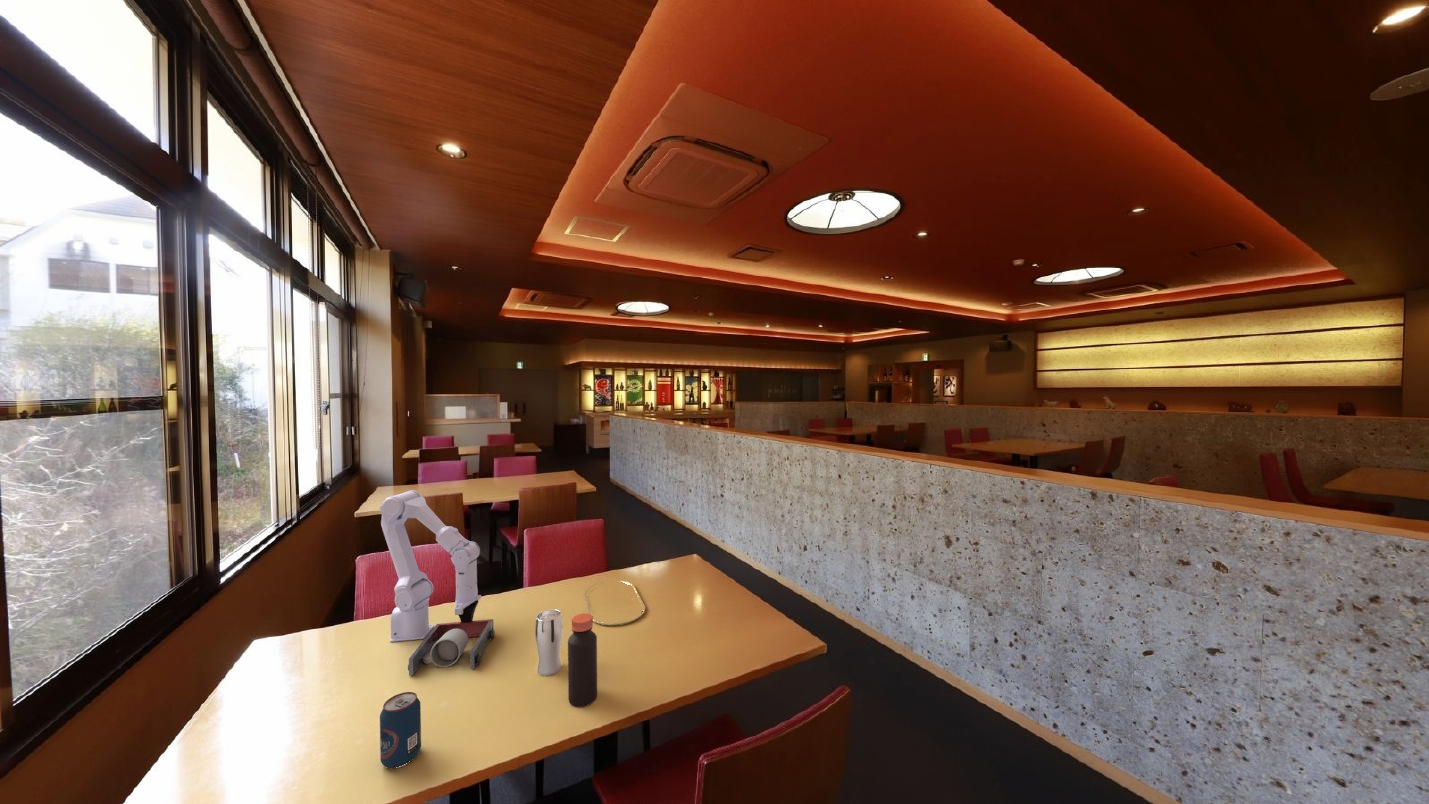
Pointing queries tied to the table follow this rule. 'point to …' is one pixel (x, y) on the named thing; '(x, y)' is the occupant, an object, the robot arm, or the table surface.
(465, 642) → the ceramic mug
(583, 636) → the bottle
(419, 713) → the soda can
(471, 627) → the grey u-frame
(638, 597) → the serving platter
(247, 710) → the table surface
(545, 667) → the beer glass
